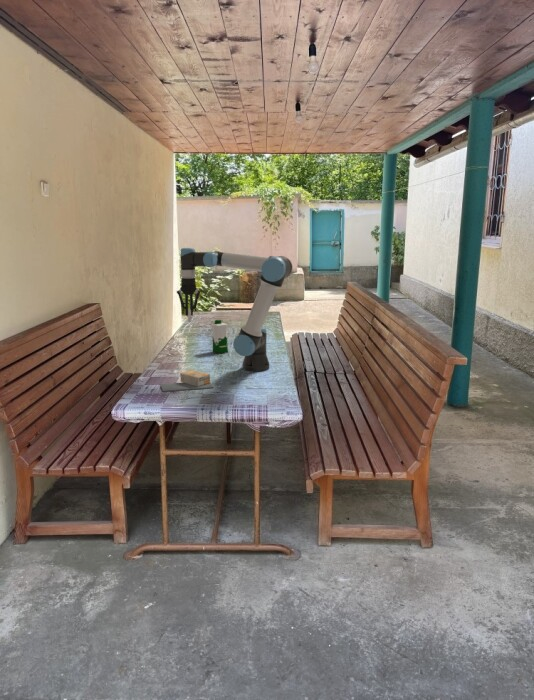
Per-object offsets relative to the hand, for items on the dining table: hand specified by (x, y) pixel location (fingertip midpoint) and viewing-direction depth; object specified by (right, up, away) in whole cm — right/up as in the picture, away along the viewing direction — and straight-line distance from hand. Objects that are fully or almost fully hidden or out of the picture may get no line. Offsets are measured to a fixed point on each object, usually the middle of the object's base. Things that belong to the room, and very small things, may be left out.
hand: (189, 321), depth 286 cm
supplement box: (+1, -28, -20) cm, 35 cm away
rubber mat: (+3, -33, -29) cm, 44 cm away
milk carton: (+13, -17, +47) cm, 52 cm away
